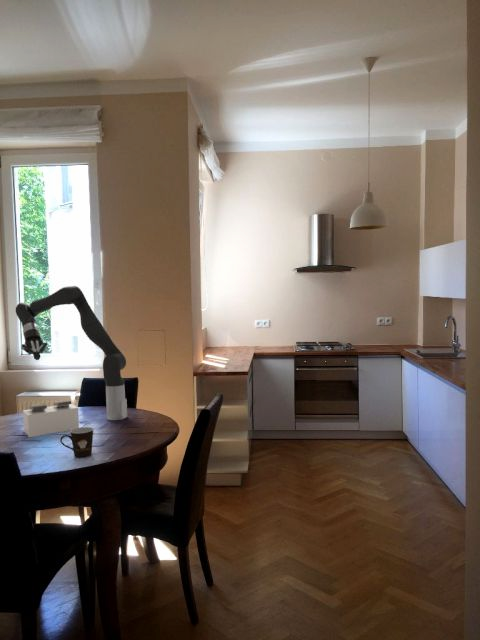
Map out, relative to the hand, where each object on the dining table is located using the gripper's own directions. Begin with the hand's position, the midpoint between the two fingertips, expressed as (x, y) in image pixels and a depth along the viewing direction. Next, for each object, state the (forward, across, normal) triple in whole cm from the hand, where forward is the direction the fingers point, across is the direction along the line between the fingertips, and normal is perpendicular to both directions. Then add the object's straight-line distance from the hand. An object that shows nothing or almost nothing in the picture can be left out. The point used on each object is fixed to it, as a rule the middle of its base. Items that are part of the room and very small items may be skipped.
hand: (37, 358), depth 237 cm
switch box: (+36, +1, +8) cm, 37 cm away
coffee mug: (+69, +1, -23) cm, 73 cm away
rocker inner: (+28, +6, 0) cm, 29 cm away
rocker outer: (+28, -5, 0) cm, 29 cm away
